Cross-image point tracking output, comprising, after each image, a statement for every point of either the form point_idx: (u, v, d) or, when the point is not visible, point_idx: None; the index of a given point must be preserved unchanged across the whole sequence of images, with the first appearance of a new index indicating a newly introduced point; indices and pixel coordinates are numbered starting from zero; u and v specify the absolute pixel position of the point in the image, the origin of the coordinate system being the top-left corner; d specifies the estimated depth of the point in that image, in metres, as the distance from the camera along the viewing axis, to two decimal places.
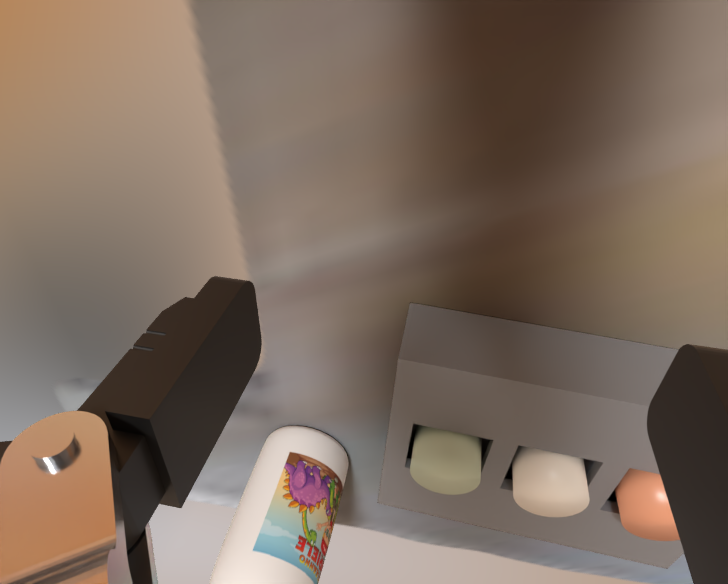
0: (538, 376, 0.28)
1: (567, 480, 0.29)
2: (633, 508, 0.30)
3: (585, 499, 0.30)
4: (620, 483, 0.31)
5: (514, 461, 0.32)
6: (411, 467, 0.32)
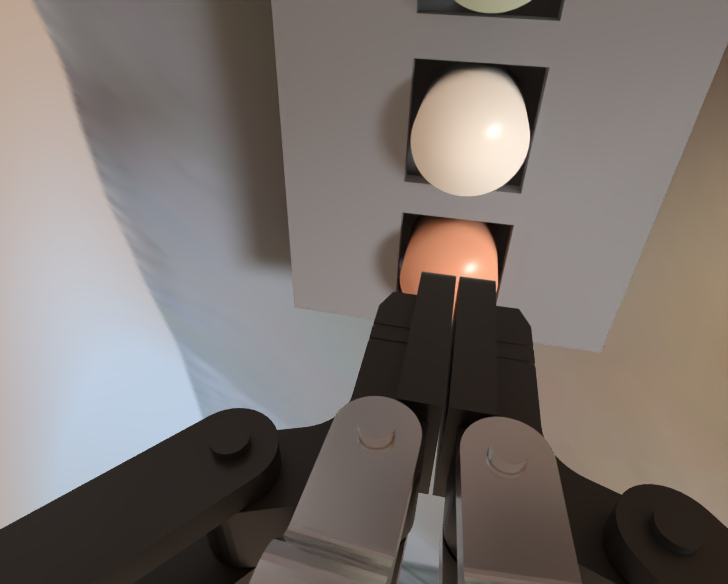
0: None
1: (524, 157, 0.19)
2: (472, 248, 0.21)
3: (478, 190, 0.20)
4: (463, 222, 0.23)
5: (485, 69, 0.19)
6: None
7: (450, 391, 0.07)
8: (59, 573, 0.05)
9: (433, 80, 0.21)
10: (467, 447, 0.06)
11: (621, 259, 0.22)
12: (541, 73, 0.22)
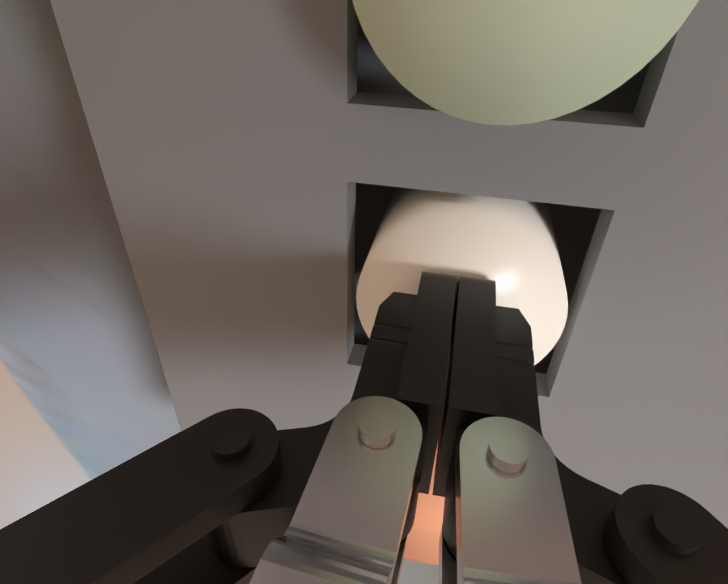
0: None
1: (555, 339, 0.11)
2: None
3: None
4: None
5: None
6: None
7: (450, 391, 0.07)
8: (60, 573, 0.05)
9: None
10: (467, 447, 0.06)
11: (719, 497, 0.13)
12: None
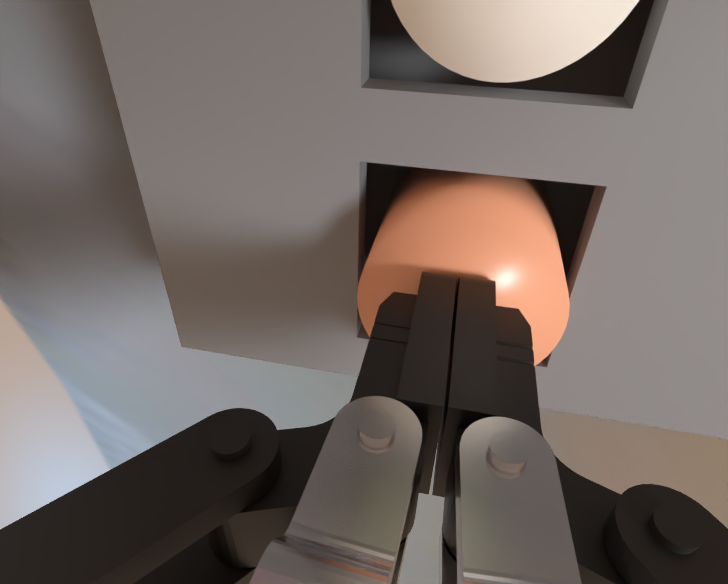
0: None
1: None
2: (515, 236, 0.09)
3: (534, 65, 0.09)
4: (492, 182, 0.11)
5: None
6: None
7: (450, 391, 0.07)
8: (59, 573, 0.05)
9: None
10: (467, 447, 0.06)
11: None
12: None
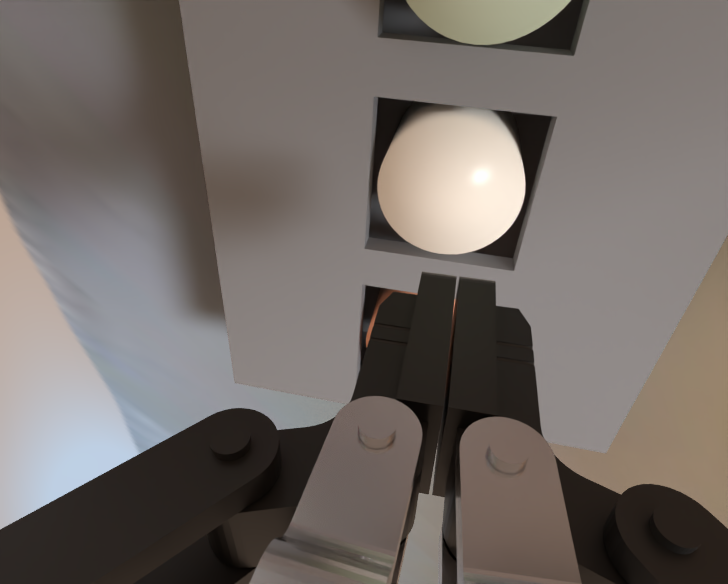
0: None
1: (517, 212, 0.15)
2: None
3: (460, 247, 0.16)
4: None
5: None
6: None
7: (450, 391, 0.07)
8: (59, 573, 0.05)
9: (409, 108, 0.17)
10: (468, 447, 0.06)
11: (638, 353, 0.17)
12: None
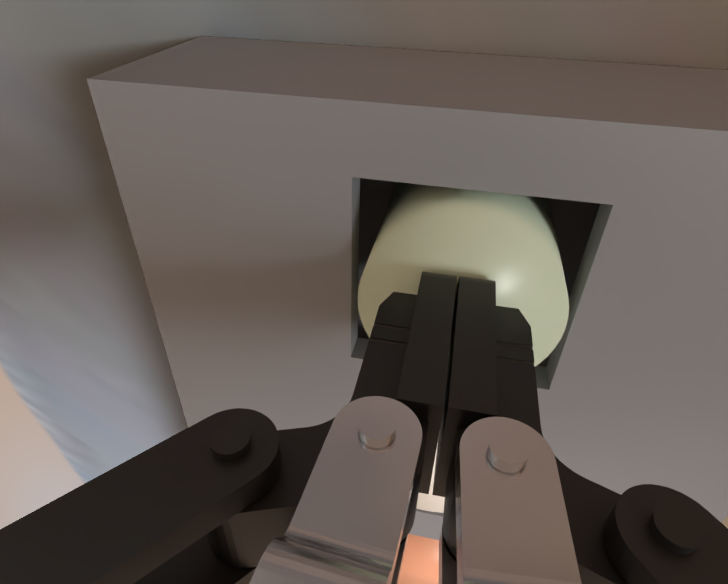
0: None
1: None
2: None
3: None
4: None
5: None
6: (475, 224, 0.09)
7: (450, 391, 0.07)
8: (60, 573, 0.05)
9: None
10: (467, 447, 0.06)
11: None
12: None
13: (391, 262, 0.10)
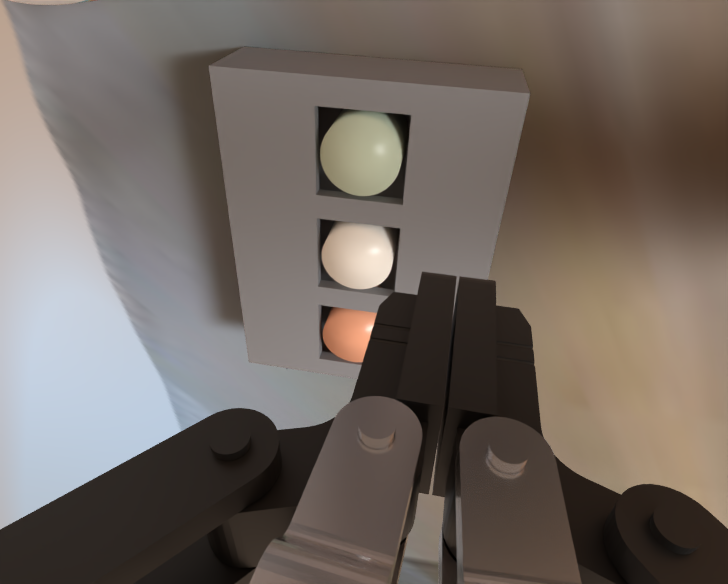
0: None
1: (390, 269, 0.31)
2: (366, 318, 0.33)
3: (365, 286, 0.32)
4: None
5: None
6: (362, 118, 0.26)
7: (450, 391, 0.07)
8: (60, 573, 0.05)
9: None
10: (467, 447, 0.06)
11: None
12: None
13: (332, 136, 0.26)
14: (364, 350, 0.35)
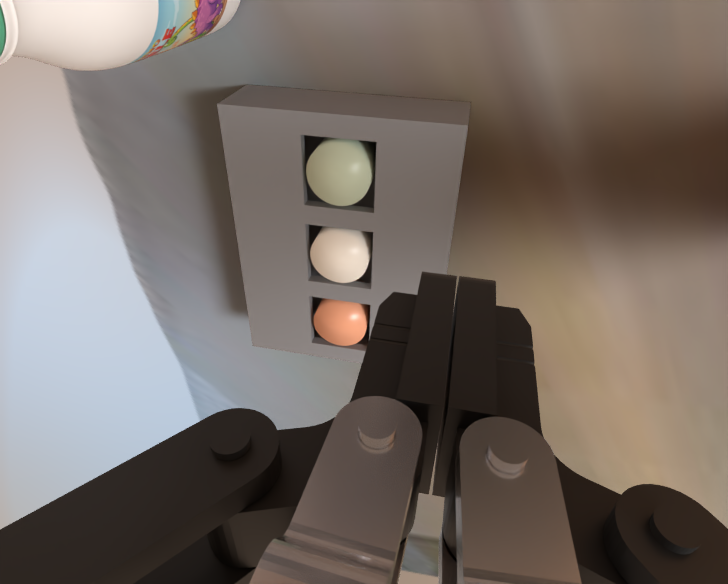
0: None
1: (366, 266, 0.37)
2: (349, 308, 0.40)
3: (347, 280, 0.38)
4: None
5: None
6: (338, 144, 0.32)
7: (450, 391, 0.07)
8: (60, 573, 0.05)
9: None
10: (467, 447, 0.06)
11: None
12: None
13: (315, 158, 0.33)
14: (348, 335, 0.41)
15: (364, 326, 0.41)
